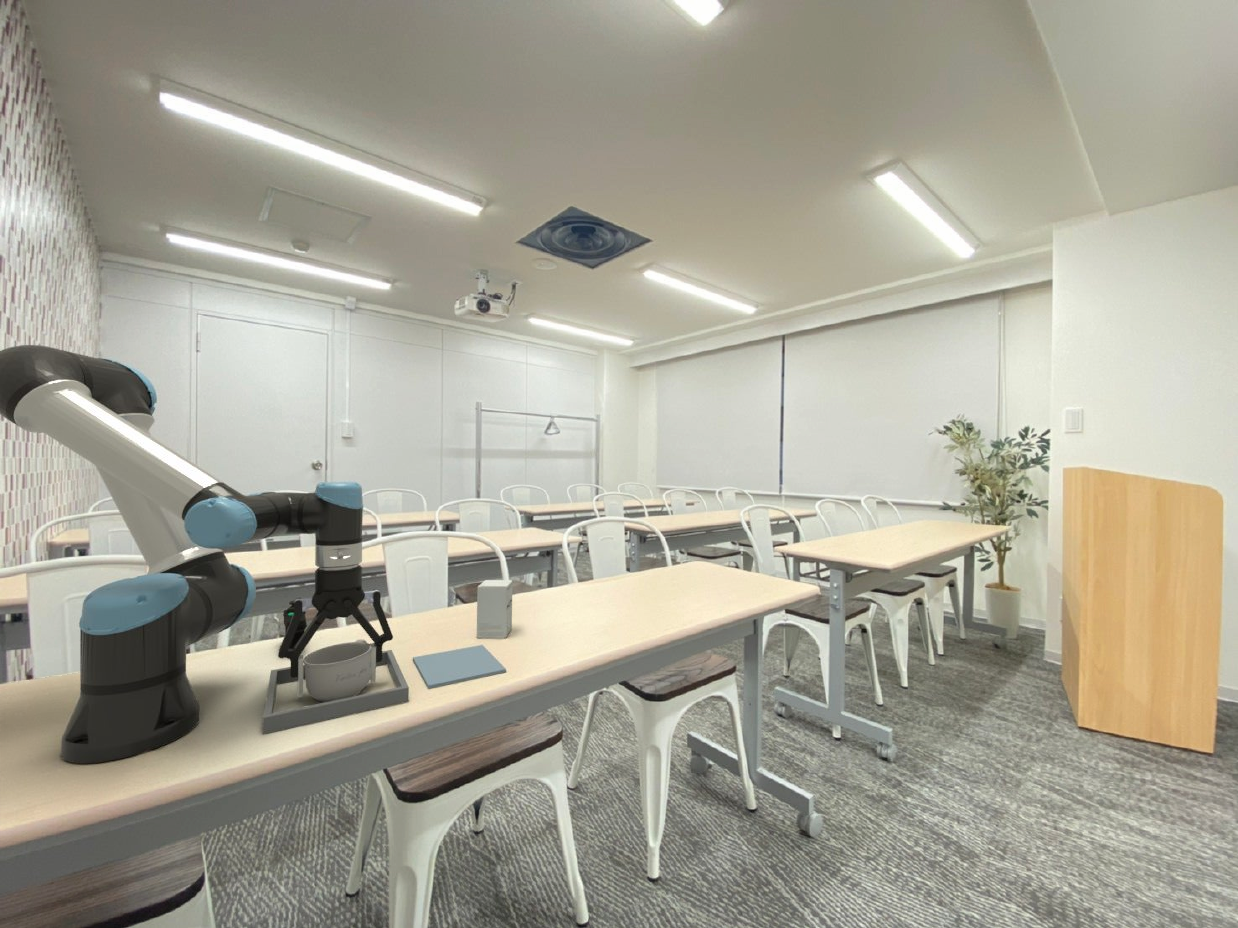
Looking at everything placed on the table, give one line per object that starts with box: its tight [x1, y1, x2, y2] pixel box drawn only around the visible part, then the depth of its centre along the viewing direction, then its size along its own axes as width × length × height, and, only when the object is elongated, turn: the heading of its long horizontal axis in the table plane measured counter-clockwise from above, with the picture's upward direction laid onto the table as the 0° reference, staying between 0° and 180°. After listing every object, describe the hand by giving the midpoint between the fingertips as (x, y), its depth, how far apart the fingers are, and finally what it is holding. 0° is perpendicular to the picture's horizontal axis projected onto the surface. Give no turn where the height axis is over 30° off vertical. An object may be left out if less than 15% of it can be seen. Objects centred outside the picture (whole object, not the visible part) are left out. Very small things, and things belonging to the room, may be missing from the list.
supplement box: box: [476, 579, 513, 639], centre depth 125 cm, size 7×7×13 cm
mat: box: [412, 644, 507, 690], centre depth 104 cm, size 15×16×1 cm
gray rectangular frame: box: [262, 649, 410, 735], centre depth 92 cm, size 21×21×2 cm
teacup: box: [303, 638, 372, 703], centre depth 92 cm, size 14×11×8 cm
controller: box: [283, 600, 308, 649], centre depth 113 cm, size 4×12×10 cm, turn 36°
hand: (337, 686), depth 92 cm, fingers closed on teacup, 11 cm apart
